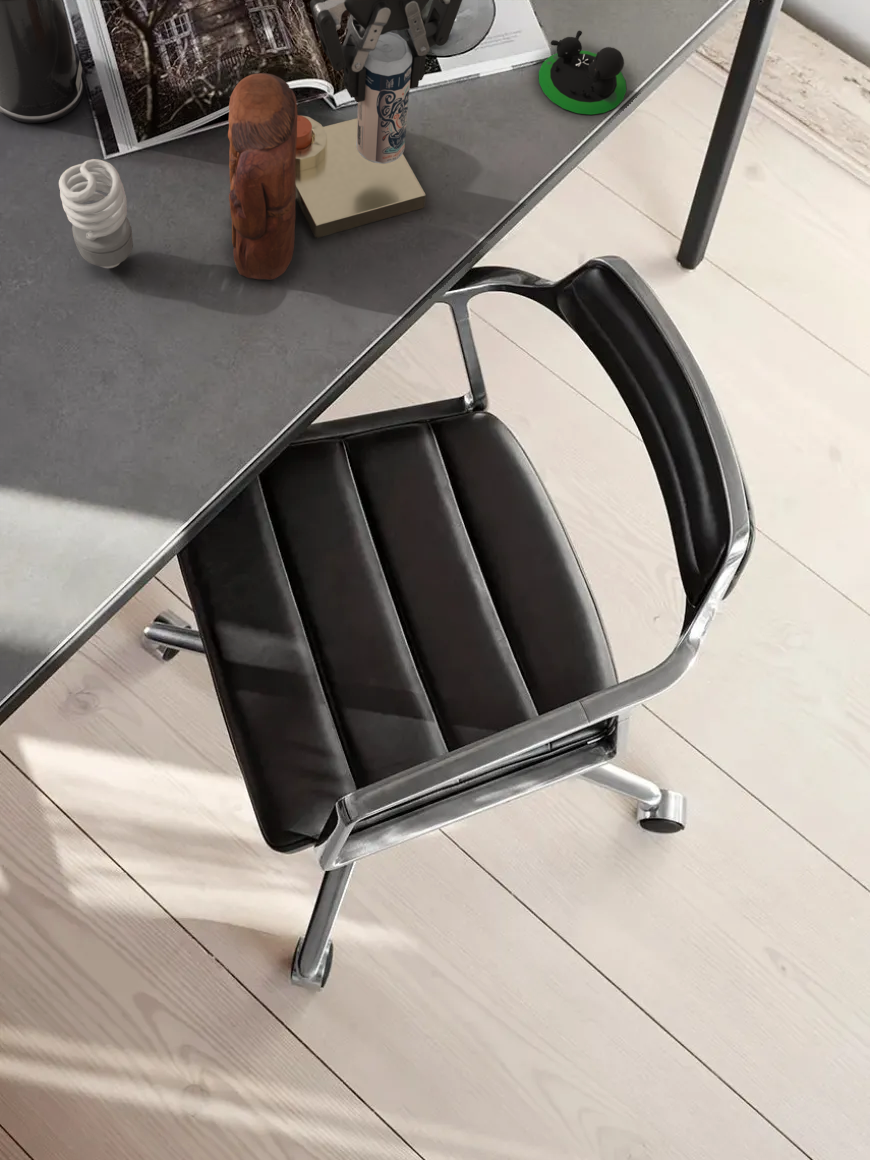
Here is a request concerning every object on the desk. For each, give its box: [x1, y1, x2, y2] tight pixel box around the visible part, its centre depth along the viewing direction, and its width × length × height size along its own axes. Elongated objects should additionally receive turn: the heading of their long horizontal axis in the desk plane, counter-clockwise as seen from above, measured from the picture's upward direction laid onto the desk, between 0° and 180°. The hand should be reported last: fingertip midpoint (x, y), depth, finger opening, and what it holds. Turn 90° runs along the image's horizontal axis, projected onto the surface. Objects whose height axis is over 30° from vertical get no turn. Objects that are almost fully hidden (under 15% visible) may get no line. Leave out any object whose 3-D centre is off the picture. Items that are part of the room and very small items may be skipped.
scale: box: [295, 115, 427, 239], centre depth 115 cm, size 13×13×4 cm
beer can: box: [356, 31, 412, 164], centre depth 106 cm, size 5×5×12 cm
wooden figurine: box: [227, 72, 298, 280], centre depth 104 cm, size 12×6×18 cm, turn 179°
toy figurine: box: [538, 30, 627, 116], centre depth 123 cm, size 10×10×6 cm
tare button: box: [296, 114, 312, 150], centre depth 113 cm, size 3×3×2 cm
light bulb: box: [58, 158, 134, 269], centre depth 104 cm, size 6×6×12 cm
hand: (383, 88), depth 105 cm, fingers closed on beer can, 4 cm apart
